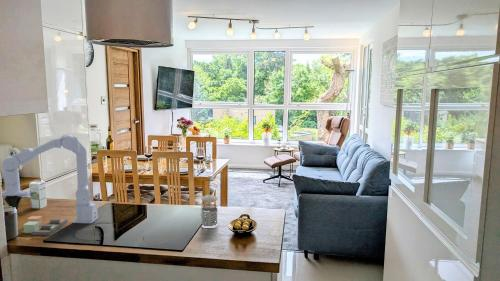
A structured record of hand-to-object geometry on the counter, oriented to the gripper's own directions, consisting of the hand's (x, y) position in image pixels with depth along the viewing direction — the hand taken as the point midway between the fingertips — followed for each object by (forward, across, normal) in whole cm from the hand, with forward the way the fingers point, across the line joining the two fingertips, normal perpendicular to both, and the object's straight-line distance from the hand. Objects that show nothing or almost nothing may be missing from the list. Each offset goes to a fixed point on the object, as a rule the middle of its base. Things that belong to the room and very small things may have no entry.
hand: (14, 211), depth 161 cm
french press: (+9, -88, -11) cm, 89 cm away
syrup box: (+9, +9, -32) cm, 35 cm away
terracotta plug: (+9, -4, -7) cm, 13 cm away
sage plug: (+9, -8, 0) cm, 12 cm away
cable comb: (+9, -14, -4) cm, 17 cm away
